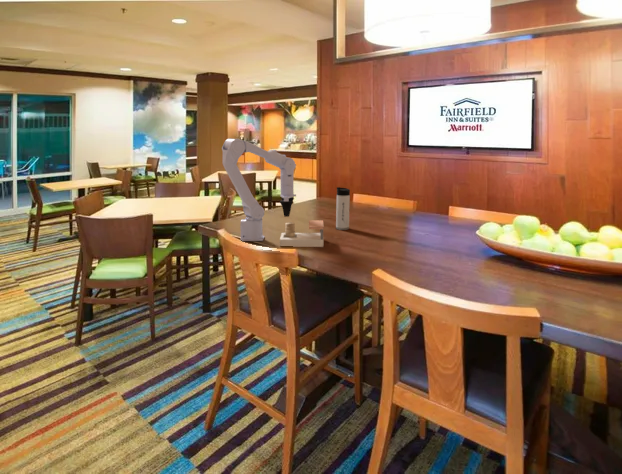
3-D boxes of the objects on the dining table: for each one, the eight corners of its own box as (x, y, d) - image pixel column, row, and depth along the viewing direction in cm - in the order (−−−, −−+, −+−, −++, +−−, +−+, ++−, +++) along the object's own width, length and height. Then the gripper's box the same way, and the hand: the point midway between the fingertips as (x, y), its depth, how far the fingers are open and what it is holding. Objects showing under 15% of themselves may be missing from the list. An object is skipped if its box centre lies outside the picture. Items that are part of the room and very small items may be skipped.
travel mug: (340, 226, 213) (341, 186, 208) (351, 228, 209) (352, 187, 204) (332, 228, 209) (333, 187, 204) (344, 230, 205) (345, 189, 200)
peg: (285, 243, 180) (285, 224, 178) (285, 240, 184) (285, 222, 182) (295, 243, 180) (294, 224, 178) (295, 240, 184) (294, 222, 182)
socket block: (279, 246, 176) (279, 226, 173) (281, 239, 188) (281, 220, 186) (323, 247, 175) (323, 226, 173) (322, 239, 188) (322, 220, 186)
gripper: (295, 186, 183) (295, 218, 186) (296, 182, 197) (296, 211, 200) (278, 186, 183) (279, 217, 186) (281, 182, 197) (281, 211, 200)
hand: (287, 214), depth 193 cm, fingers open, 7 cm apart
